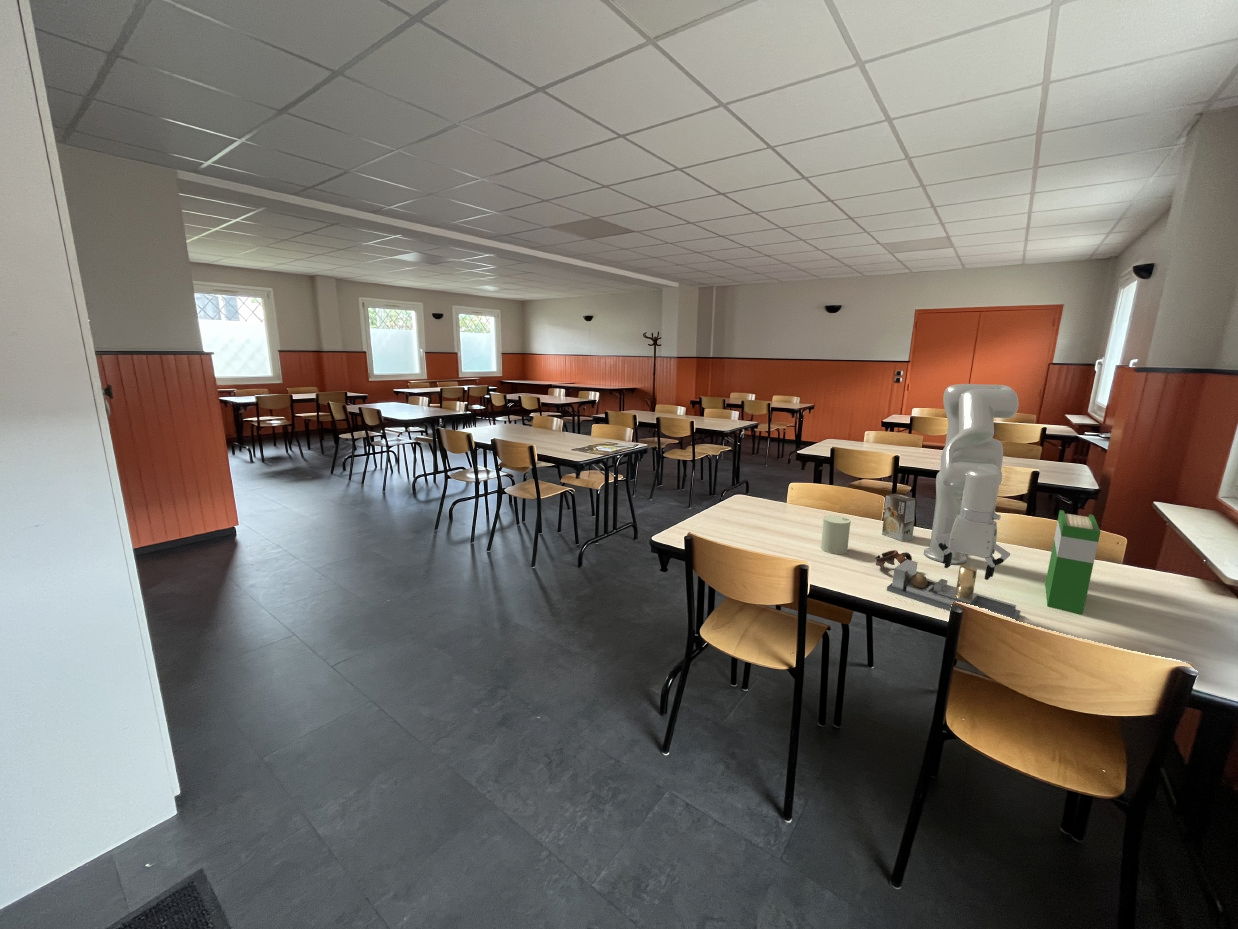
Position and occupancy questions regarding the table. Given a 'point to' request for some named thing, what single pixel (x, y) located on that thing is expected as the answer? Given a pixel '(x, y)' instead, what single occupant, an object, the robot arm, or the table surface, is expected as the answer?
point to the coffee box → (899, 517)
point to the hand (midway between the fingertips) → (966, 572)
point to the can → (835, 534)
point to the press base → (926, 595)
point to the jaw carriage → (960, 586)
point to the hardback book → (1071, 562)
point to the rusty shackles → (892, 558)
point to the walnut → (919, 581)
